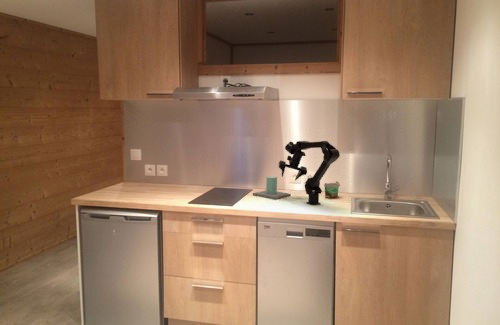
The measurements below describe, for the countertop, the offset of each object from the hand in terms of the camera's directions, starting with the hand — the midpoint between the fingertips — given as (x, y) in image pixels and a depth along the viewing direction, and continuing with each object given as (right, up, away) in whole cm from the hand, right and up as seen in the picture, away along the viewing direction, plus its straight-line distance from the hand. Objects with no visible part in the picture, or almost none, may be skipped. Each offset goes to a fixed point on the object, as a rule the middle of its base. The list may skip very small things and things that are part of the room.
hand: (288, 178), depth 251 cm
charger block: (-11, -10, +5) cm, 16 cm away
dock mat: (-11, -12, +6) cm, 17 cm away
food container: (+30, -13, 0) cm, 33 cm away
